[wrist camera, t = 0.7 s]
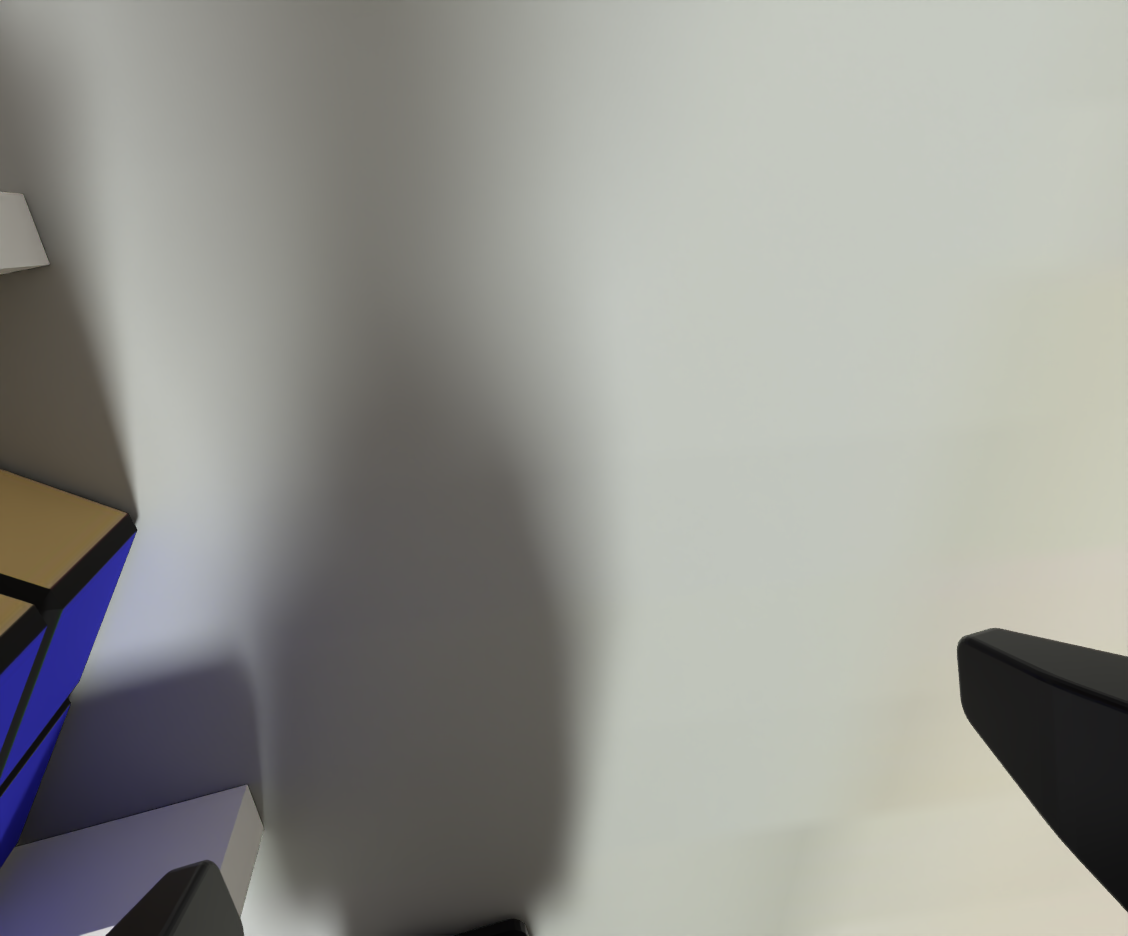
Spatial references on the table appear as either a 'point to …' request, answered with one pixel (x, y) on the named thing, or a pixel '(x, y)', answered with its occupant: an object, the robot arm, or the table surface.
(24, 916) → the trap channel
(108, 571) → the puzzle cube
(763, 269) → the table surface
